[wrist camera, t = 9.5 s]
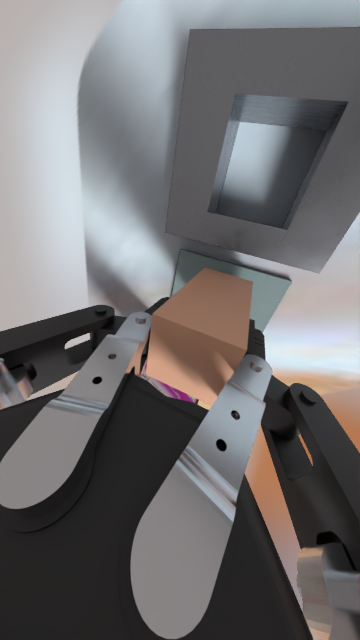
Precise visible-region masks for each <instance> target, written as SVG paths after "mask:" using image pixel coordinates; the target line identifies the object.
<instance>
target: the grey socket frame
mask: <svg viewBox="0 0 360 640" xmlns="http://www.w3.org/2000/svg"><path fill="white" fill-rule="evenodd" d="M240 121H241V122H251V123H261V124H271V125H280V126H290V127H300V128H309V129H319V130H327V131H326V134H325V136H324V138H323V140H322V142H321V145H320V147H319V149H318V151H317V153H316V155H315V158H314V160H313V162H312V164H311V166H310V168H309V171H308V173H307V175H306V177H305V179H304V182H303V184H302V186H301V188H300V190H299V192H298V195H297V197H296V199H295V201H294V203H293V205H292V208H291V210H290V212H289V214H288V216H287V219H286V221H285V223H284V225H283V227H282V228H278V227H274V226H269V225H265V224H260V223H256V222H251V221H247V220H243V219H238V218H234V217H229V216H225V215H220V214H216V212H217V208H218V204H219V200H220V196H221V192H222V188H223V184H224V180H225V177H226V173H227V169H228V165H229V161H230V157H231V153H232V149H233V145H234V142H235V138H236V134H237V130H238V126H239V122H240ZM359 212H360V27H343V28H267V29H190V35H189V43H188V51H187V60H186V68H185V76H184V84H183V92H182V100H181V109H180V117H179V125H178V133H177V141H176V149H175V157H174V166H173V174H172V182H171V190H170V198H169V206H168V214H167V223H166V231H165V232H166V233H169V234H173V235H177V236H181V237H184V238H188V239H192V240H196V241H199V242H203V243H207V244H211V245H214V246H218V247H222V248H226V249H229V250H233V251H237V252H240V253H244V254H248V255H252V256H255V257H259V258H263V259H267V260H270V261H274V262H278V263H282V264H285V265H289V266H293V267H297V268H300V269H304V270H308V271H312V272H315V273H320V272H321V270H322V269H323V267H324V266H325V264H326V263H327V261H328V260H329V258H330V257H331V255H332V253H333V252H334V250H335V249H336V247H337V246H338V244H339V243H340V241H341V240H342V238H343V237H344V235H345V234H346V232H347V231H348V229H349V227H350V226H351V224H352V223H353V221H354V220H355V218H356V217H357V215H358V214H359Z"/></svg>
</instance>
